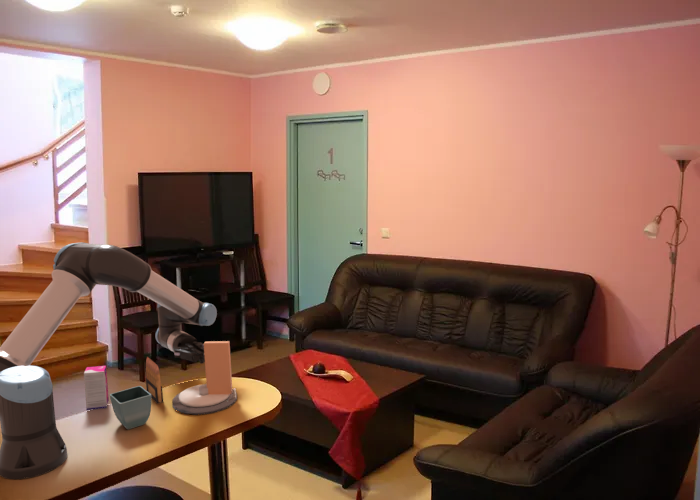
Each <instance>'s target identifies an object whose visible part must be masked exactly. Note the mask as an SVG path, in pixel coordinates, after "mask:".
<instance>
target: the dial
mask: <svg viewBox="0 0 700 500" xmlns="http://www.w3.org/2000/svg"><path fill="white" fill-rule="evenodd" d="M203 344H204V354H205V362H204V367H205V382H206V383H205V384H204V383H203V384H198V385H194V386H193V385H192V386H191V387H187V388H186V389H184V390H182V391H181V392H179V393H180V395H179V401H180V403H181V404H183V405H185V406H190V407H206V406H211V405H215V404H218V403H221V402H223V401H225V400H226V399H228V398H229V396H230V394H232V392H233V391H232V389H233V376H232V375H233V374H232V362H231V361H232V360H231V346H230V344H231V343H230V340H227V341H226V340H222V341H221V340H220V341H218V340H217V341H215V340H213V341H212V340H211V341H204V343H203Z"/></svg>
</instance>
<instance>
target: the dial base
mask: <svg viewBox="0 0 700 500" xmlns="http://www.w3.org/2000/svg"><path fill="white" fill-rule="evenodd" d="M236 389H237V388H235V387H234V388H232V391H233V392H232V394H230V396H229V398H228V399H226V400H225V401H223V402H221V403H218V404H215V405H211V406H206V407H190V406H185V405H183V404H181V403H180V401H179V395H180V393H181V392H179V393H177V394H175V396H174V397H173V399H172V400H171V401H172V402H171V403H172V408H174V409H175V410H174V409H173V410H174V411H176V410H177V411H179V412H181V413H180V414H182V413H184V414H183V415H188V414H192V415H191V416H200V415H201V414H202V415H209V414H210V415H211V414H215V413H219V412H222V411H224V410H227V409H229V408H231V407H232V406H233V405H234V404H235V403H236V402H237V400H238V393H237V390H236ZM177 411H176V412H177ZM179 412H178V413H179ZM198 414H199V415H198ZM202 415H201V416H202Z"/></svg>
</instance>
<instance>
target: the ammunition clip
mask: <svg viewBox="0 0 700 500" xmlns="http://www.w3.org/2000/svg"><path fill="white" fill-rule="evenodd" d="M145 367H146V368H145V376H146V377H145V384H146V385H145V387H146V391H148V392H149V393H150V394H151V400H153V401H154V402H155V403H156V404H157V405H159V404H162V403H164V394H163V385H162V382H161V375H160V369H159V365H158V364H156V362H154V361H153V359H151V358H150V357H149V356H146V362H145Z"/></svg>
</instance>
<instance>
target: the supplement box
mask: <svg viewBox="0 0 700 500" xmlns="http://www.w3.org/2000/svg"><path fill="white" fill-rule="evenodd" d="M83 383H84V394H85V395H84V396H85V408H86V409H85V410H86V411H93V410H100V409H107V407H108V403H109V398H110V396H109V387H108V385H109V384H108V373H107V365H98V366H87V367H86V368H85V370H84V372H83Z"/></svg>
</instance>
